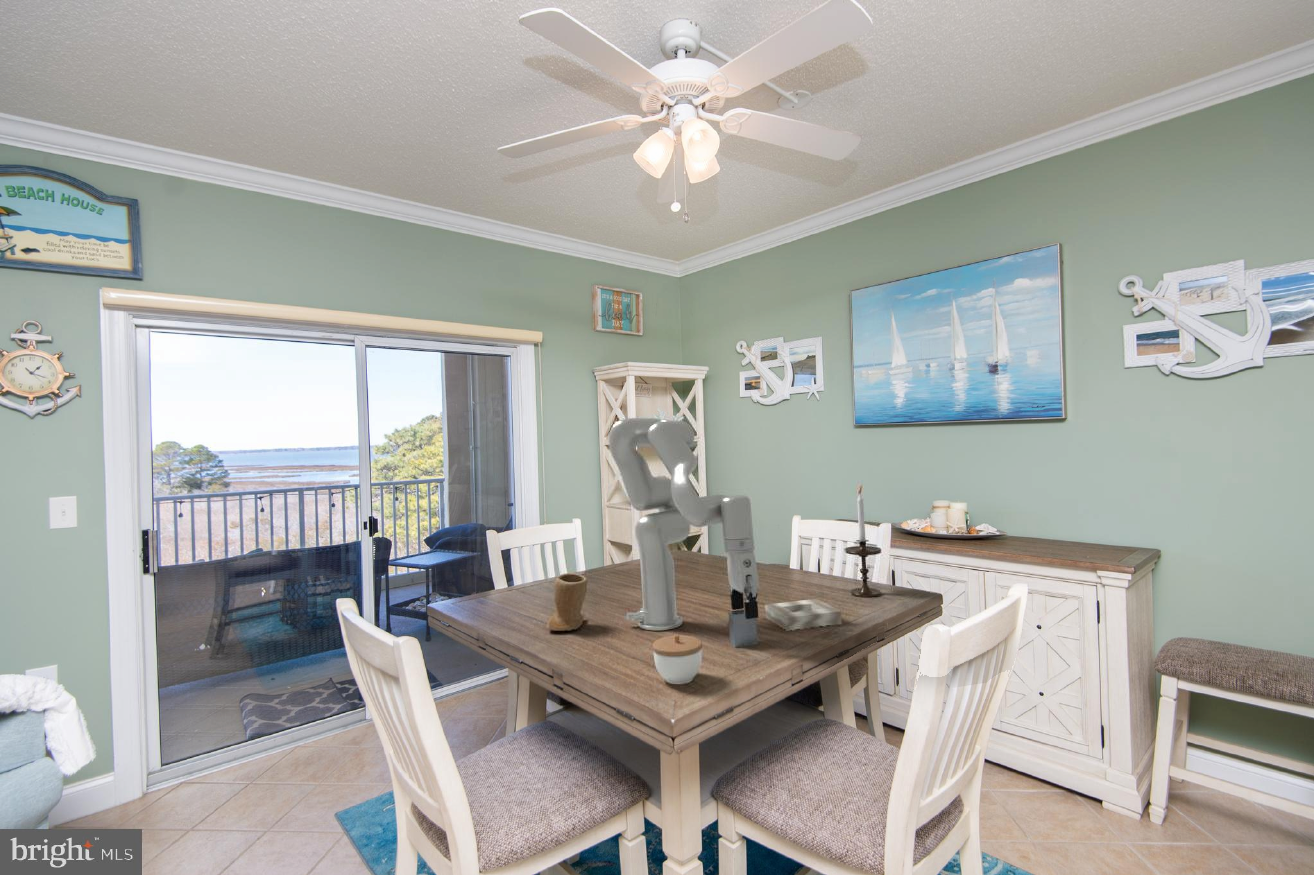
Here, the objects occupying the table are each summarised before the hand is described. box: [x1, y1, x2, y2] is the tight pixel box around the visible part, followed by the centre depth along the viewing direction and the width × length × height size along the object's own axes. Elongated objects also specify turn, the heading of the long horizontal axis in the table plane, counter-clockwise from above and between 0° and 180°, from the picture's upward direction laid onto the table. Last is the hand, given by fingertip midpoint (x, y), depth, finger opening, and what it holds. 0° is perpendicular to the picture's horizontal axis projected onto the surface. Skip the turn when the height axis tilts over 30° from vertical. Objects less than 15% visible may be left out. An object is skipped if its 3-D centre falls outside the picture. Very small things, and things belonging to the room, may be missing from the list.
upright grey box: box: [727, 609, 758, 648], centre depth 148 cm, size 6×4×8 cm, turn 103°
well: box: [764, 598, 842, 632], centre depth 164 cm, size 16×14×4 cm
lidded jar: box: [652, 634, 703, 685], centre depth 128 cm, size 11×11×9 cm
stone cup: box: [546, 572, 588, 632], centre depth 171 cm, size 15×12×15 cm
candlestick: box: [844, 484, 882, 599], centre depth 189 cm, size 11×11×35 cm
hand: (744, 613), depth 147 cm, fingers open, 9 cm apart
